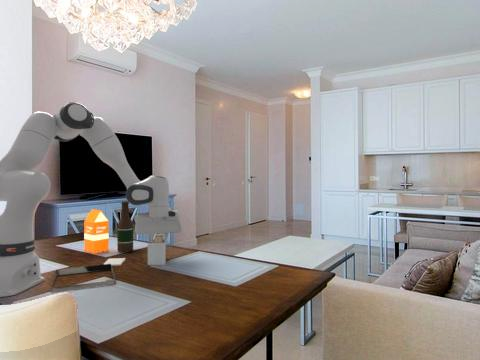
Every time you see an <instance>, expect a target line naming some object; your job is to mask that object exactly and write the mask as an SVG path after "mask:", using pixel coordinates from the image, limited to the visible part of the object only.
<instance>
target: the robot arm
mask: <svg viewBox="0 0 480 360" xmlns="http://www.w3.org/2000/svg"><path fill="white" fill-rule="evenodd" d="M78 136H81V137H82V138H84V140H86V141H87V142H88V145H89V146H90V148H91V149H92V151H93V152H94V154H95V155H96V156H97V158H99V159H100V160H101V161H102V162H103V163H105V164H107V165H108V166H109V167H110V168H112V169H113V170H114V171H115V172H116V174H117V175H118V177H119V178H120V180H121V181H122V183H123V184H124V186H125V187H126V191H125V198H126V201H128V202H129V204H130V205H133V206H142V205H145V204H147V205H148V208H147V209H148V212H147V211H146V212H138V213H136V214H134V218H133V219H134V222H135V226H134V233H135V234H136V235H148V237H149V239H150V240H151V243H155V238H154V237H153V236H154V235H164V236H165V237H164V238H163V239H162V242H165V245H166V242H167V239H168V237H169V234H181V233H182V231H183V224H182V223H183V222H182V219H181V216H179V215H180V211H179V210H177V209H174V208H171V207H170V204H169V197H170V187H169V181H168V179H167V178H166V177H164V176H161V175H155V174H154V175H150V176H148V177H147V178H145V179H143V180H140V179H139V178H138V177H137V175H136V174H135V172H134V170H133V169H132V167H131V166H130V164H129V163H128V160H127V157H126V155H125V152H124V149H123V146H122V144H121V142H120V140H119V138H118V136H117V135H116V134H115V131H114V130H113V129H112V128H111V127H110V126H109V124H108V123H107V122H106V121H105V120H104V119H103V118H102V117H99V116H94V115H93V113H92V112H90V110H89V109H88V108H87V107H86V106H85V105H84V104H82V103H79V102H77V101H70V102H68V103H67V102H66V104H64V105H63V106H62V107H61V108H60V110H58V111H57V113H56V114H50V113H48V112H45V111H35V112H32V113H31V115H29V117H28V118H27V119H26V121H25V122H24V124H23V125H22V126H21V128H20V130H19V132H18V134H17V136H16V137H15V140H14V142H13V143H12V145H11V147H10V149H9V150H8V152H7V153H6V154H5V155H4V156H3V157H2V158H1V159H0V202H6V203H5V204H6V205H5V209H4V210H3V213H2V214H0V298H2V297H9V296H14V295H18V294H20V293H22V292H24V291H25V290H28V289H30V288H32V287H34V286H36V285H39V284H40V283H42V282H45V280H46V278H45V277H44V276H43V275H42V274H41V265H40V264H41V263H40V257H39V256H38V255H37V254H36V252H35V250H36V240H35V238H34V221H35V215H36V212H37V210H38V207H39V205H40V203H41V202H42V201H43V200H44V199H45V198H47V196H48V195H49V193H50V191H51V184H52V183H51V180H50V178H49V176H48V175H47V174H45V172H44V173H43V172H41V171H37V170H35V169H36V168H38V167H40V166H41V165H43V164H44V162H45V161H46V159H47V156H48V153H49V151H50V149H51V147H52V144H53V143H54V140H57V141H60V142H70V141H73V140H75V139H76V138H77V137H78Z"/></svg>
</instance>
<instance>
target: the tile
mask: <svg viewBox="0 0 480 360" xmlns="http://www.w3.org/2000/svg"><path fill="white" fill-rule="evenodd" d="M166 254H167V253H166V244H165V242H156V243H152V242H147V266H166V263H167V262H166V259H167V258H166Z"/></svg>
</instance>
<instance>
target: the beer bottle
mask: <svg viewBox="0 0 480 360" xmlns="http://www.w3.org/2000/svg"><path fill="white" fill-rule="evenodd" d="M120 204H121V214H120V215H121V216H120V219H119V221H118V223H117V227H116V228H117V230H116V232H117V235H116V236H117V241H116V243H117V244H116V245H117V252H118V251H119V252H118V253H122V252H123V253H130V252H129V251H131V252H133V251H134V224H133V220H132V219H131V216H130V208H129V204H130V203H129V202H128V200H126V201H124V200H123V201H121V202H120Z"/></svg>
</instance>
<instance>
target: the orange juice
mask: <svg viewBox="0 0 480 360" xmlns="http://www.w3.org/2000/svg"><path fill="white" fill-rule="evenodd" d="M83 222H84V224H83V226H84V227H83V228H84V229H83V232H84V233H83V235H84V237H83V239H84V240H83V243H84V252H87V253H90V252H91V254H99V253H103V252H102V251H104V252H108V251H107V250H109V243H110V242H109V237H110V236H109V235H110V234H109V219H108V218H107V217H106V216H105V214H104V213H103V211H102V210H101V209H100V210H99V209H92V208H91V210H90V212H89V213H88V214H87V216H86V218H85V219H84V221H83ZM98 252H99V253H98Z"/></svg>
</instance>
